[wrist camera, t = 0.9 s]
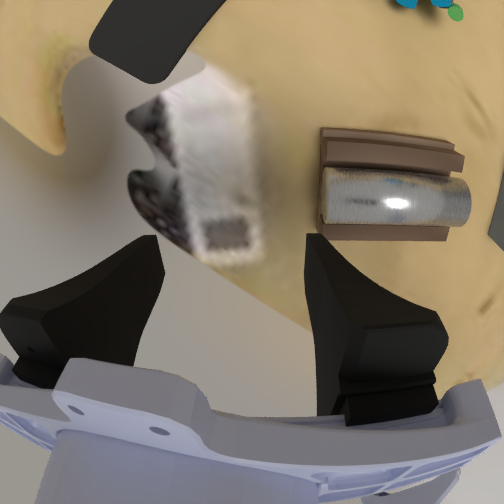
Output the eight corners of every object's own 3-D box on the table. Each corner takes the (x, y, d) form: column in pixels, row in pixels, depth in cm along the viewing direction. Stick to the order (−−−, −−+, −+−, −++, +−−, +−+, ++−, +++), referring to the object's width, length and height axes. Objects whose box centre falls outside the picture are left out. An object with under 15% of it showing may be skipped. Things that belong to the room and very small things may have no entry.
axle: (450, 170, 17) (476, 189, 15) (441, 213, 19) (463, 236, 16) (322, 160, 18) (332, 178, 15) (320, 209, 20) (327, 234, 17)
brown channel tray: (431, 230, 21) (444, 246, 19) (316, 228, 22) (321, 245, 20) (447, 141, 17) (465, 150, 15) (320, 127, 18) (327, 133, 16)
